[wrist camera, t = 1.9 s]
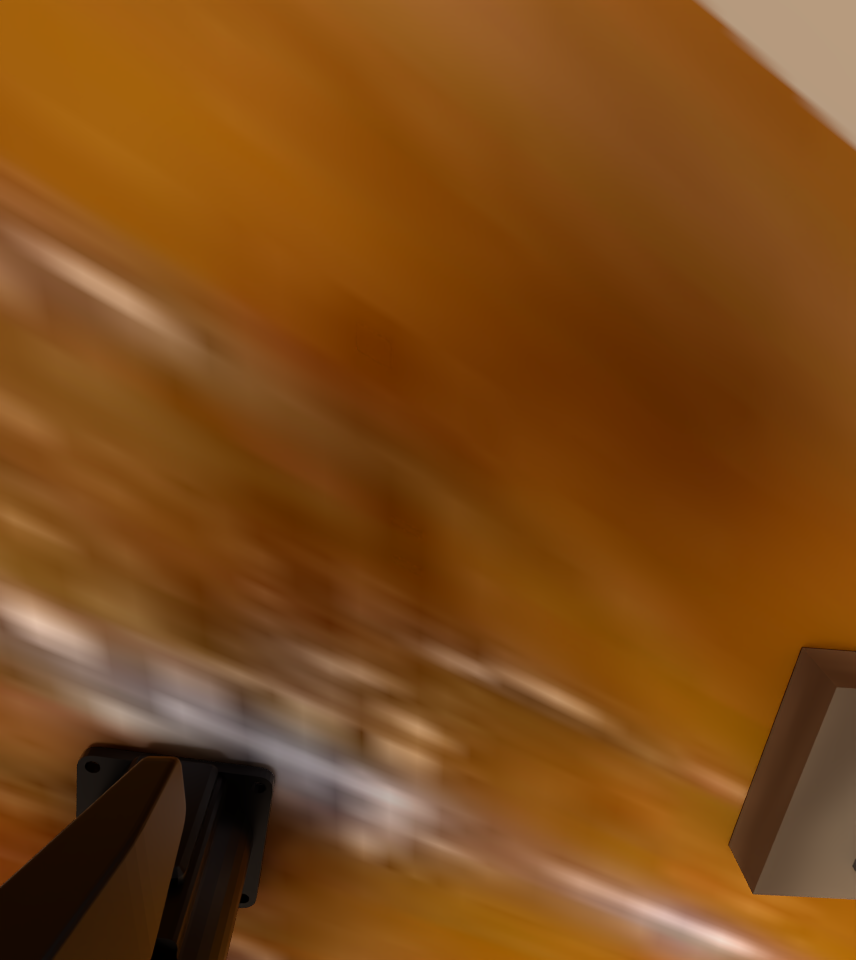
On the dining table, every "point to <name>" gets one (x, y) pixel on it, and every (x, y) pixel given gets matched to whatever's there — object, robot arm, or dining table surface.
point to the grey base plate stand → (805, 787)
